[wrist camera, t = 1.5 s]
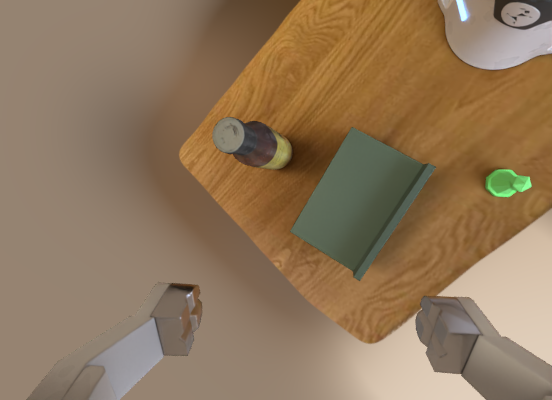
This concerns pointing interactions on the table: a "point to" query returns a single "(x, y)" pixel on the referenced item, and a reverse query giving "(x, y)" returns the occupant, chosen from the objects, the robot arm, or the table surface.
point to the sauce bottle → (252, 143)
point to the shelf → (360, 201)
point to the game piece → (506, 183)
